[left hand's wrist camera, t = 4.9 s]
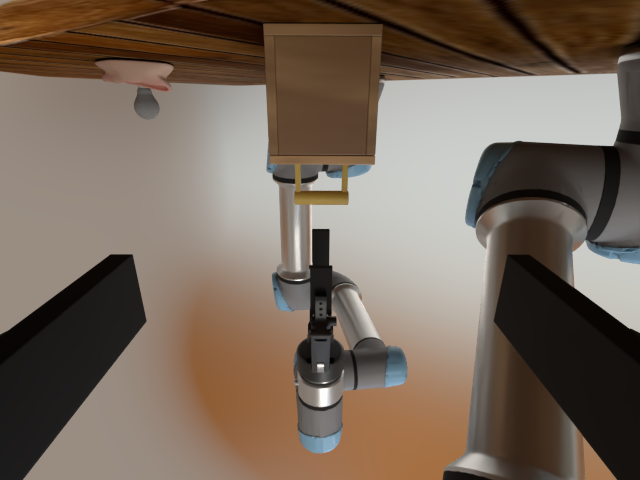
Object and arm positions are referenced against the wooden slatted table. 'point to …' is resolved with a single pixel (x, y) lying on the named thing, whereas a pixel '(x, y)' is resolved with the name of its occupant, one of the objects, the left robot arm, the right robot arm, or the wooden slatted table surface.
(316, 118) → the chest
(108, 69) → the anatomical model
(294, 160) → the lid
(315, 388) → the right robot arm
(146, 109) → the light bulb
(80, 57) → the wooden slatted table surface
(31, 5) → the wooden slatted table surface
